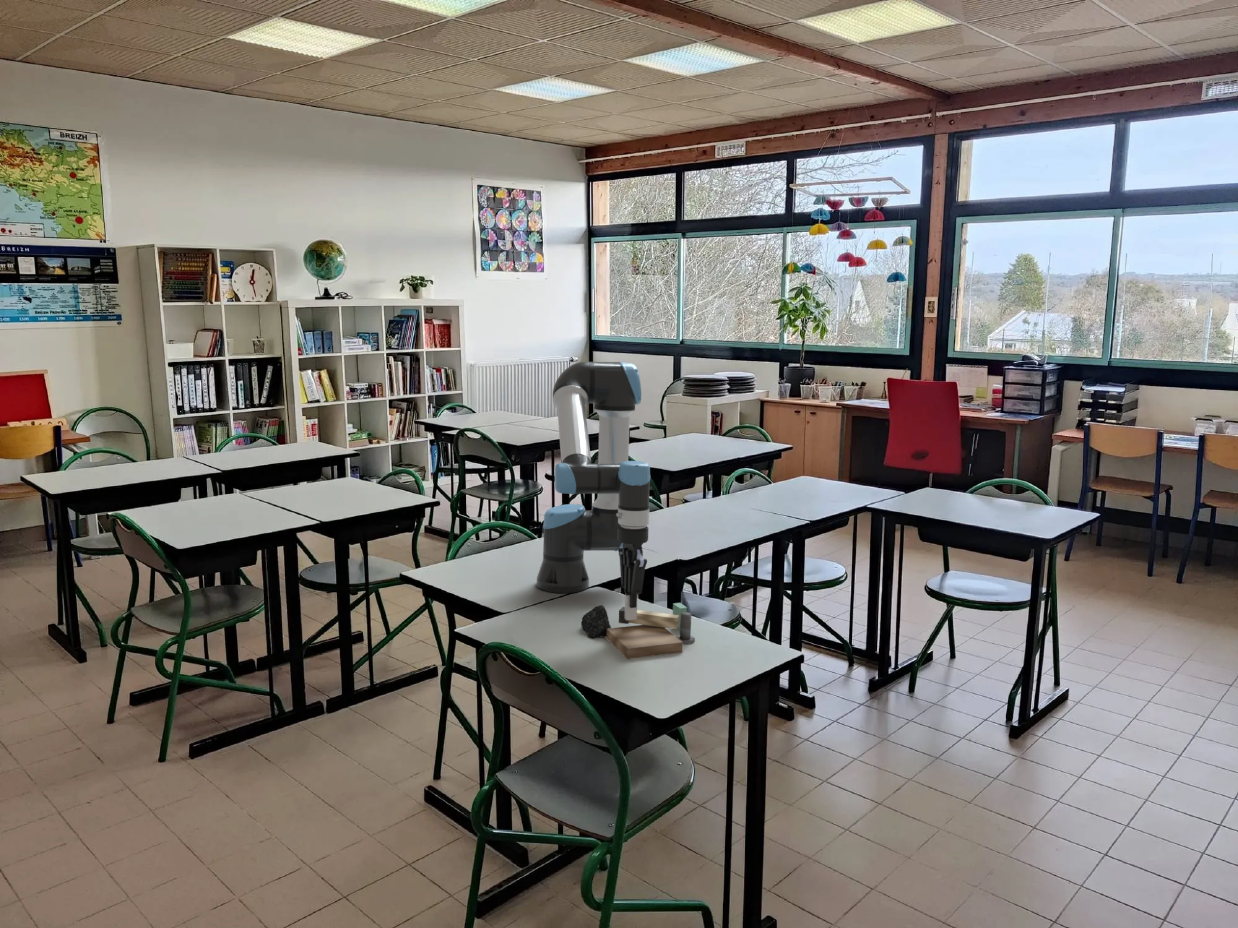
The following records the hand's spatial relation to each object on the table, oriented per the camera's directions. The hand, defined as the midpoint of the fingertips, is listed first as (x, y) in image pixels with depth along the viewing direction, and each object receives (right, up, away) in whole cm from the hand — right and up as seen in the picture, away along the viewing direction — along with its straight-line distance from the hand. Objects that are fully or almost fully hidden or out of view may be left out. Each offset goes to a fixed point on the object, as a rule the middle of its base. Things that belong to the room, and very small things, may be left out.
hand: (630, 618), depth 230 cm
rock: (-8, -4, +4) cm, 10 cm away
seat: (+6, -5, -4) cm, 9 cm away
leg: (+5, -2, +2) cm, 5 cm away
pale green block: (+13, -4, +9) cm, 16 cm away
